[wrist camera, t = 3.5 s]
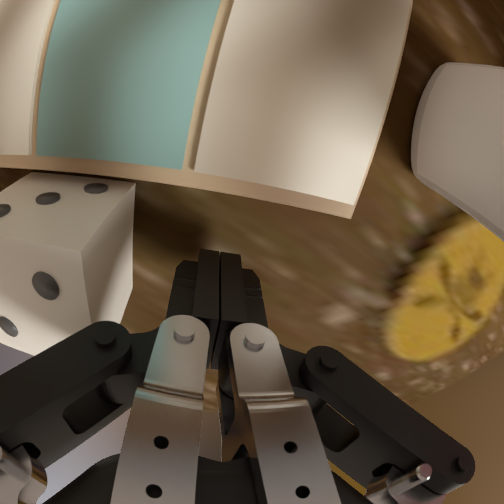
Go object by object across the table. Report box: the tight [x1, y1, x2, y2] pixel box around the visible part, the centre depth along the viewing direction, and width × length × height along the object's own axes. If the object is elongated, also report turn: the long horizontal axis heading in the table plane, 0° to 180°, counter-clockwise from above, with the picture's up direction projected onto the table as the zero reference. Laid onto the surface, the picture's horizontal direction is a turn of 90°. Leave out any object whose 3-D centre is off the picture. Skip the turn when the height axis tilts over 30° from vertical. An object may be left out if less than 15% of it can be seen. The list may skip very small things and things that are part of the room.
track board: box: [0, 0, 413, 219], centre depth 7 cm, size 18×10×1 cm, turn 77°
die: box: [0, 172, 136, 356], centre depth 9 cm, size 5×5×5 cm
